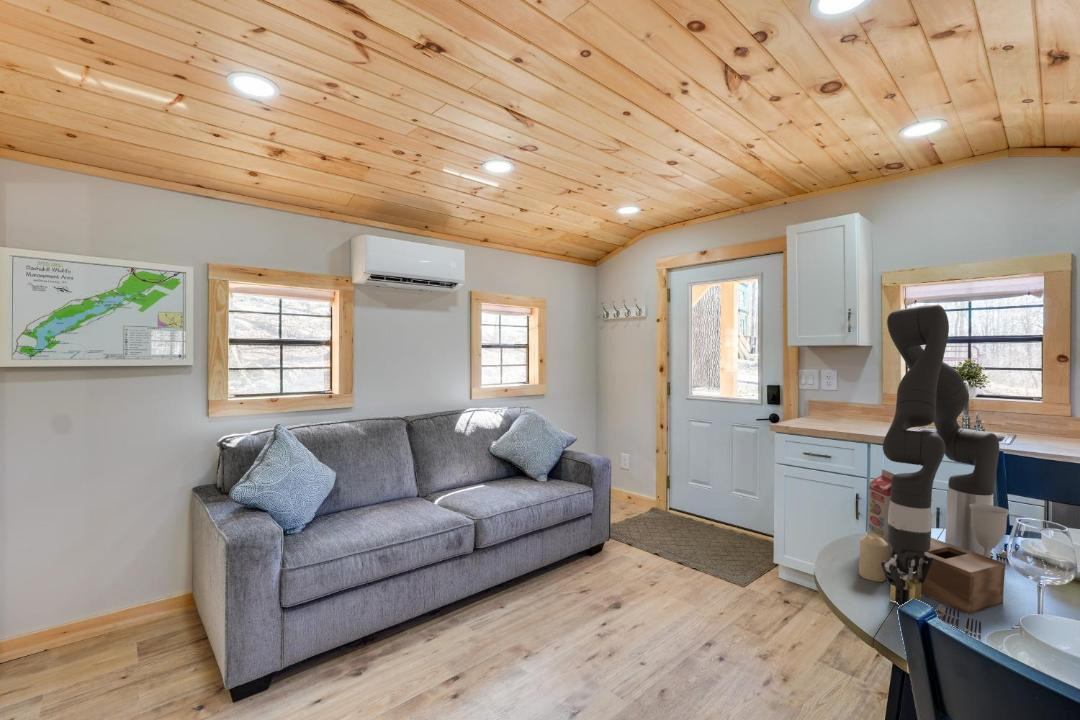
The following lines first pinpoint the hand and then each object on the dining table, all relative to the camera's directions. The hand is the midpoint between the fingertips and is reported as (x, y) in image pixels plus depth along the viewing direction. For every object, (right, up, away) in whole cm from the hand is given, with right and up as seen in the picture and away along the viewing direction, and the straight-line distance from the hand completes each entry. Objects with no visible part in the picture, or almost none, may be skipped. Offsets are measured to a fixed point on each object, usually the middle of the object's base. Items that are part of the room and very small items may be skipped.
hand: (905, 603), depth 111 cm
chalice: (+26, -1, +10) cm, 28 cm away
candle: (+2, 0, +13) cm, 14 cm away
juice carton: (+13, 0, +26) cm, 29 cm away
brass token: (0, -1, 0) cm, 1 cm away
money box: (+14, 0, +7) cm, 15 cm away
